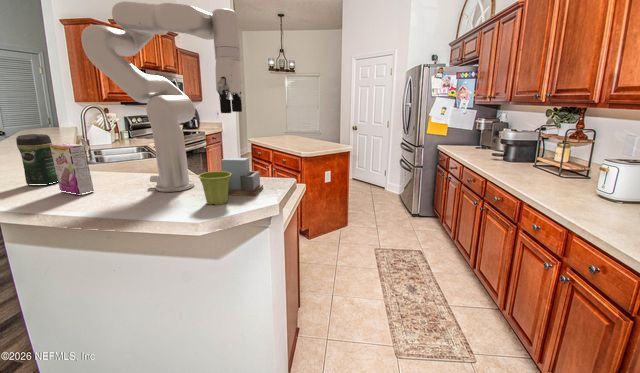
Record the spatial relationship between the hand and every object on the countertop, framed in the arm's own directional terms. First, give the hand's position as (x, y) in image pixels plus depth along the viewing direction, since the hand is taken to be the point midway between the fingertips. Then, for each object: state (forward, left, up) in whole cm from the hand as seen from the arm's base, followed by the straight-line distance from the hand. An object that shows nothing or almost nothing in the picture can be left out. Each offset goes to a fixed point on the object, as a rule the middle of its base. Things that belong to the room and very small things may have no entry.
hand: (231, 112), depth 104 cm
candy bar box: (-54, -6, -26) cm, 60 cm away
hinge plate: (0, 0, -26) cm, 26 cm away
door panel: (0, 0, -25) cm, 25 cm away
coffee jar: (-76, +4, -26) cm, 80 cm away
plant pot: (-2, -12, -26) cm, 29 cm away
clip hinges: (0, 0, -25) cm, 25 cm away
